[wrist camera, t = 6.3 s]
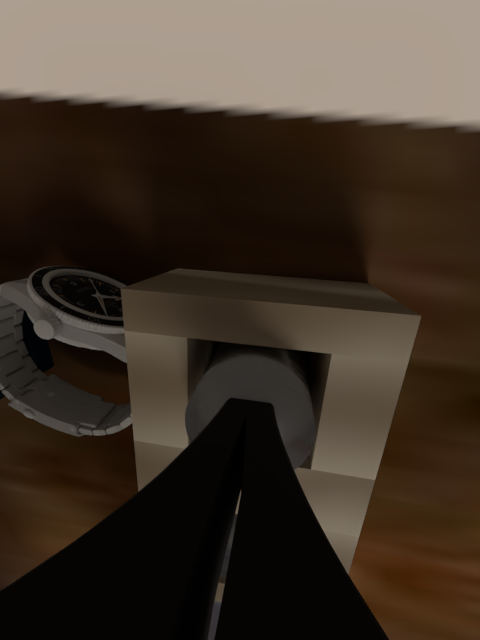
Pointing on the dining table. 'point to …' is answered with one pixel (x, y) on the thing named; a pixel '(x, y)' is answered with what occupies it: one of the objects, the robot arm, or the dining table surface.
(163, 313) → the press block
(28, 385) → the watch
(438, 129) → the dining table surface
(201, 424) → the steel peg
